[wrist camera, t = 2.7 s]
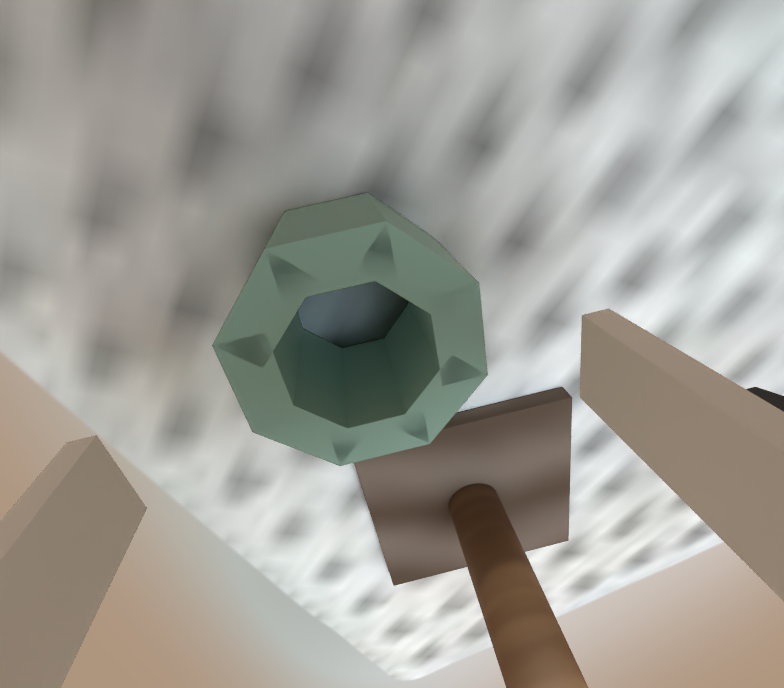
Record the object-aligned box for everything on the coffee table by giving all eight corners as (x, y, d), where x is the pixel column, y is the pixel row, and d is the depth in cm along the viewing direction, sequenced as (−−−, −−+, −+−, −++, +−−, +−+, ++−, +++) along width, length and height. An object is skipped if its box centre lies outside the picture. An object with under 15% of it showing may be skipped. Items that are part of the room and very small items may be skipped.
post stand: (349, 439, 22) (366, 678, 12) (562, 387, 22) (739, 579, 13) (391, 571, 28) (426, 805, 18) (560, 527, 28) (682, 734, 19)
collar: (225, 224, 16) (177, 268, 11) (425, 179, 17) (471, 201, 11) (289, 390, 20) (275, 482, 15) (450, 351, 20) (492, 428, 15)
